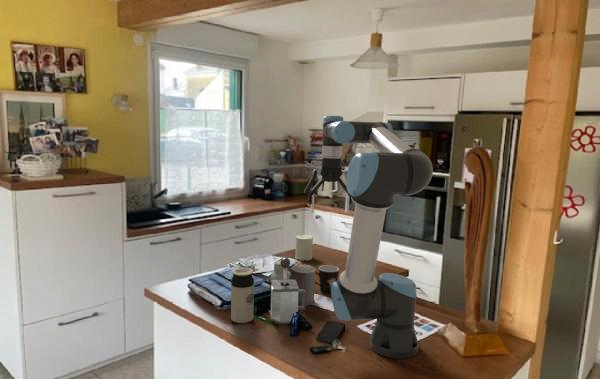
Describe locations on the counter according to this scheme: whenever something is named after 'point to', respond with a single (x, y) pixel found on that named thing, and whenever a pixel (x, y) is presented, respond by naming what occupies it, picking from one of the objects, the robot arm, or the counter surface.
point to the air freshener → (278, 272)
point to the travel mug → (242, 295)
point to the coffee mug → (327, 277)
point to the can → (304, 247)
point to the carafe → (285, 301)
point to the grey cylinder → (304, 282)
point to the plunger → (285, 269)
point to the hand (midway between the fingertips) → (329, 212)
